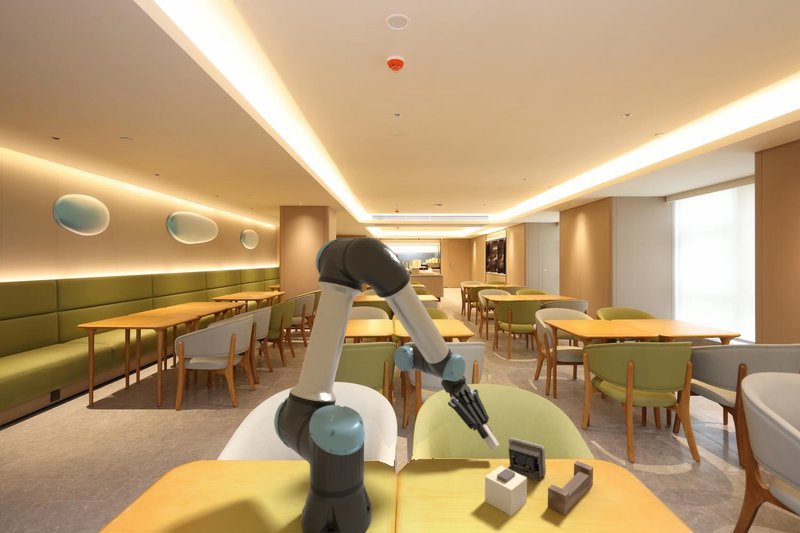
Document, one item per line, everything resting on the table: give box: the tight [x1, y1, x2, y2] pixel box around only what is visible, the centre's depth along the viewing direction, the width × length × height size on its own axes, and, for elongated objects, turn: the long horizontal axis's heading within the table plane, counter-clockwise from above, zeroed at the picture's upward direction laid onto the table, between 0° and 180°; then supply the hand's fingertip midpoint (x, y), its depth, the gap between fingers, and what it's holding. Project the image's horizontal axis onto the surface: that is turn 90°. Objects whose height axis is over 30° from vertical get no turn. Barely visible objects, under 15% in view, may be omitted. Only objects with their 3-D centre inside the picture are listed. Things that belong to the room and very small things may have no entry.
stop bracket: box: [547, 460, 594, 516], centre depth 90 cm, size 4×17×4 cm, turn 133°
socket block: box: [484, 465, 528, 517], centre depth 88 cm, size 7×7×7 cm
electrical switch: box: [507, 436, 547, 482], centre depth 98 cm, size 9×5×9 cm, turn 57°
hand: (495, 447), depth 106 cm, fingers closed
